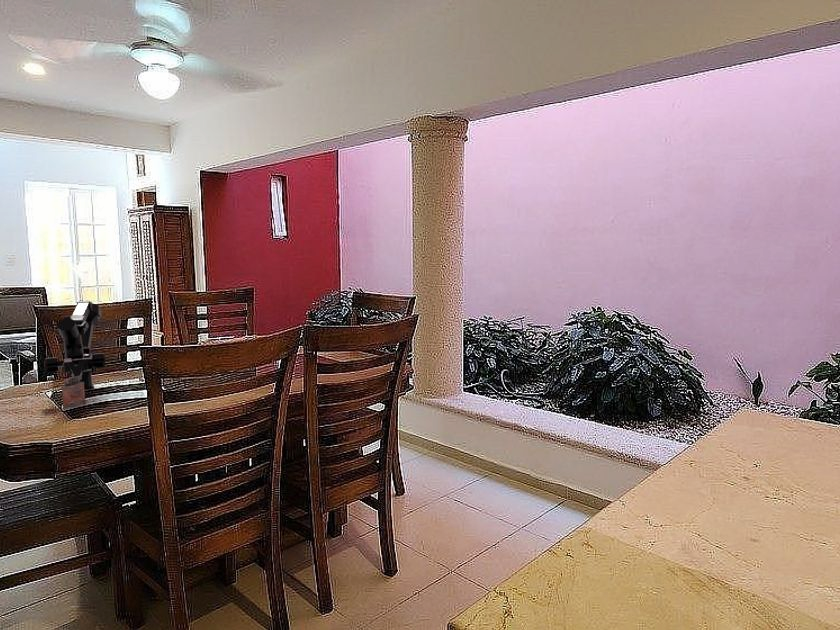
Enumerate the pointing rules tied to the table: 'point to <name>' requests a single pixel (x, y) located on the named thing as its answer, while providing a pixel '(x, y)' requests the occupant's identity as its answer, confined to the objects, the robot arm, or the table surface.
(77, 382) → the lighter
